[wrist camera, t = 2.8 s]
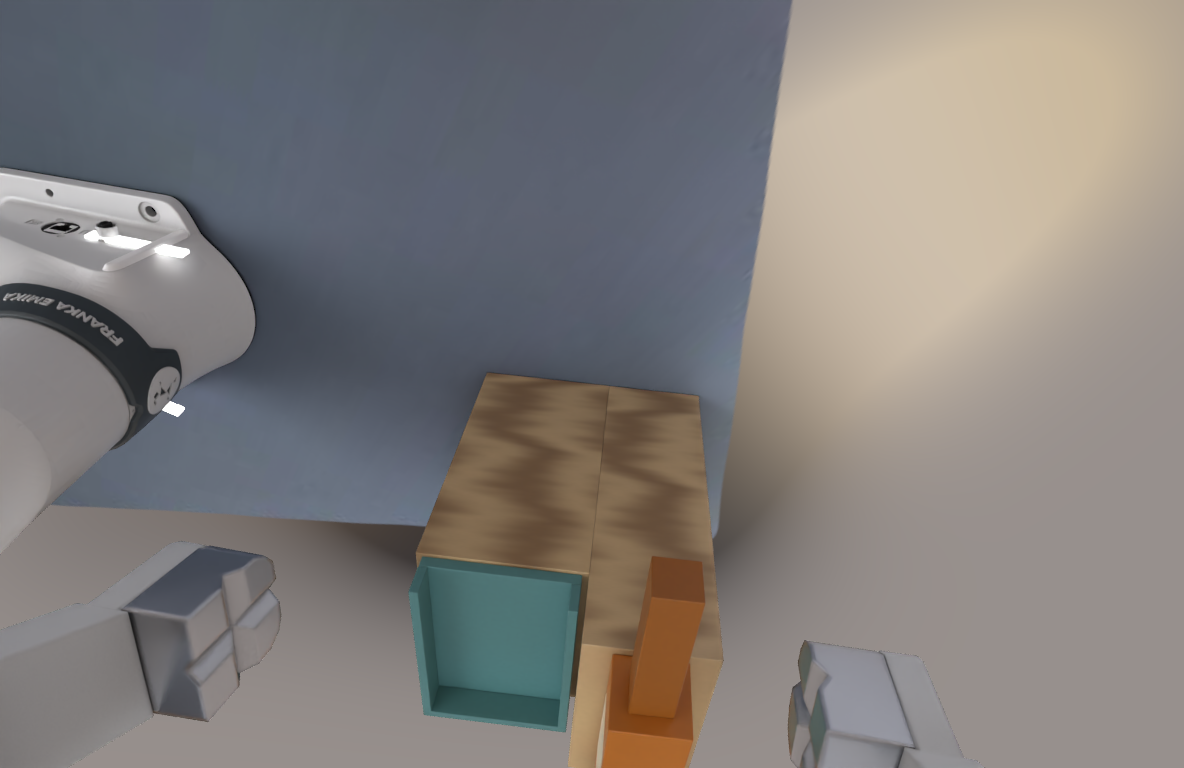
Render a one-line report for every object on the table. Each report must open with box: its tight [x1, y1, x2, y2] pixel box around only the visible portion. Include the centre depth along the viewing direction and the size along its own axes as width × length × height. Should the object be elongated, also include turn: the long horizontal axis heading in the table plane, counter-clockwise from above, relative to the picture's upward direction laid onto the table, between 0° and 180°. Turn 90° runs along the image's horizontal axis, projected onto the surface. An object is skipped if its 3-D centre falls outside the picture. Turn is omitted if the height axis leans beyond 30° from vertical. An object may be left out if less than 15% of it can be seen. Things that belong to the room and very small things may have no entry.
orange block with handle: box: [595, 556, 706, 768], centre depth 36 cm, size 22×4×4 cm, turn 175°
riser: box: [416, 373, 724, 768], centre depth 51 cm, size 19×14×26 cm
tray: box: [409, 556, 582, 732], centre depth 44 cm, size 10×14×3 cm
